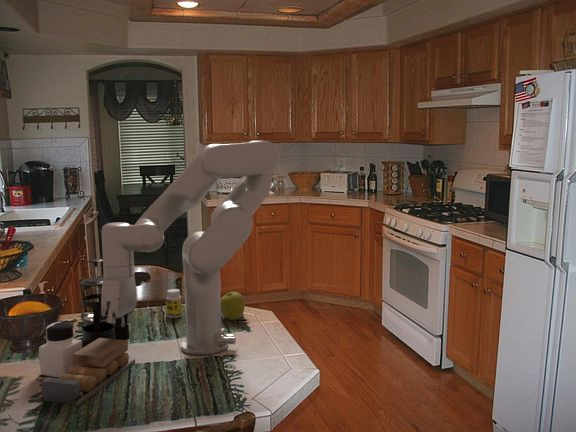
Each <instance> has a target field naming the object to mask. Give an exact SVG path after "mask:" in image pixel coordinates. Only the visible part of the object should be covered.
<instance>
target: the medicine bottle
mask: <svg viewBox="0 0 576 432" xmlns="http://www.w3.org/2000/svg"><path fill="white" fill-rule="evenodd" d="M45 333H46V335H45V336H46V343H44V344H42V345H40V346H39V347H38V353H39V357H38V358H39V367H40V368H39V369H40V375H42V376H47V377H52V378H58V377H59V376H60V375H61V374H68V371H69V369H70V368H71V367H72V366H81V365H76V364H73V354H74V353H75V352H77V351H79V350H80V349H82V348H83V340H82V339H75V338H74V326H73V324H72V323H71V322H69V321H57V322H53V323H51V324H49V325H47V326H46V327H45Z"/></svg>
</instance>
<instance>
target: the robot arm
mask: <svg viewBox="0 0 576 432" xmlns="http://www.w3.org/2000/svg"><path fill="white" fill-rule="evenodd" d="M280 161H281V154H280V152H279V149H278V147H277V146H276V145H275V144H273V143H272V141H271V142H270V141H267V140H251V141H248V142H240V143H239V142H238V143H223V144H222V143H211V144H208V145H206V146H205V147H203V148H202V149H201V150H200V151H199V152H198V153H197V154H196V155H195V157H194V158H192V160H191V161H190V163H189V164H188V165H187V166H186V167H185V168H184V169H183V170H182V172H181V173H179V175H178V176H177V177H176V178H175V179H174V180H173V181H172V183H170V184H169V186H168V187H167V188H166V189H165V190H164V191H163V192H162V194H160V195H159V197H157V199H155V201H153V203H152V204H150V206H149V207H148V208H147V209H146V210H145V211H144V212H143V214H142V215H141V216H140V217H139V218H138V219H137V221H136V222H135V223H134V224H130V223H128V222H118V221H117V222H108V223H105V224H104V225H102V227H101V243H102V244H101V246H102V249H101V250H102V259H103V261H102V265H103V267H102V269H103V277H104V278H105V279H103V284H102V287H101V293H102V296H101V311H102V316H103V317H107V316H108V321H107V322H108V323H110V324H113V326H115V339H117V340H129V339H130V323H131V322H130V321H131V315H132V314H133V313H134V311H135V309H136V308H137V305H138V295H137V294H138V293H137V286H136V285H137V284H136V278H135V259H134V258H135V256H134V255H135V254H134V252H140V253H141V252H144V253H150V252H155V251H158V250H159V249H160V248H161V247H162V246H163V244H164V242H165V232H166V231H167V230H168V228H169V227H170V226H171V225H172V224H173V222H175V220H177V219H178V218H179V217H180V216H181V215H182V214H184V213H186V212H189V211H190V210H192V209H193V208H194V207H197V206H198V204H200V202H201V201H202V200H203V199H204V197H205V196H206V195H207V194H208V193H209V191H210V190H211V189H212V188H213V187H214V186H215V185H216V184H218V182H219V180H221V179H228V178H229V179H230V178H240V179H239V180H238V182H237V183H236V185H234V187H233V188H232V190H231V191H230V192H229V193H228V195H226V196H225V198H224V199H223V200H222V201H221V202H220V203H219V204H218V205H217V206H216V207H215V208H214V209H213V211H212V214H211V216H210V225H209V227H207V229H206V230H205V231H195V232H192V233H190V235H188V236H187V237H186V238H185V240H184V241H183V244H182V251H181V256H182V267H183V277H184V278H183V279H184V305H185V306H184V310H185V333H186V334H185V335H186V338H185V339H184V340H182V342H181V343H180V349H181V351H183V352H184V353H186V354H190V355H195V356H196V355H198V356H204V355H206V356H207V355H212V354H216V353H219V352H222V351H224V350H225V349H226V348H228V346H229V345H236V343H237V338H236V337H235V334H227V332H226V329H225V328H224V327H223V328H222V311H221V298H222V297H221V290H222V289H221V275H220V274H221V272H220V271H221V269H222V268H224V267H225V266H226V264H227V263H228V262H229V261H230V259H231V258H232V257H233V256H234V255H235V254H236V253H237V252H238V250H239V249H240V248H241V247H242V245H244V243H245V242H246V241H247V240H248V238H249V237H250V235H251V233H252V231H253V226H254V220H253V215H254V214H255V213H256V211H257V210H258V209H259V208H260V206H261V205H262V204H263V202H265V200H266V199H267V196H268V195H269V193H270V190H271V188H272V182H273V172H274V171H275V170H276V169H277V167H278V166H279V164H280Z"/></svg>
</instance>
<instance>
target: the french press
mask: <svg viewBox="0 0 576 432" xmlns="http://www.w3.org/2000/svg"><path fill="white" fill-rule="evenodd" d="M87 263H90V264H93V266H94V268H95V277H89V278H84V279H82V280H81V281H80V282H79V284H80V285H81V290H82V291H83V292H85V291H87V290H88V289H90V288H91V287H96V293H93V294H88V295H84V296H83V297H82V298H80V304H81V306H80V307H81V320H82V335H83V337H82V343H85V344H87V345H88V344H90V343H92V342H93V341H95V340H97V339H98V338H106V339H115V326H113V324H110V323H108V316H107V317H103V316H102V311H101V296H102V292H99V288H102V284H103V279H105V278H104V276H98V269H97V267H98V266H99V264H98V263H103V258H91V259H89V260H87ZM93 299H94V300H95V299H97V300H96V301H89V300H93ZM84 307H87V308H90V307H91V308H92V313H89V314H86V315H85V312H84V310H85V309H84ZM85 323H88V324H87V325H86V324H85Z"/></svg>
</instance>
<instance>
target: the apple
mask: <svg viewBox="0 0 576 432" xmlns="http://www.w3.org/2000/svg"><path fill="white" fill-rule="evenodd" d="M245 306H246V305H245V300H244V297H243V295H242V294H241V293H239V292H237V291H234V289H232V290H231V291H230V292H228V293H226V294H224V295H223V296H222V297H221V314H222V315H223V317H225V319H227V320H230V321H233V320H241V318H242V316H243V315H244V312H245Z"/></svg>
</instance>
